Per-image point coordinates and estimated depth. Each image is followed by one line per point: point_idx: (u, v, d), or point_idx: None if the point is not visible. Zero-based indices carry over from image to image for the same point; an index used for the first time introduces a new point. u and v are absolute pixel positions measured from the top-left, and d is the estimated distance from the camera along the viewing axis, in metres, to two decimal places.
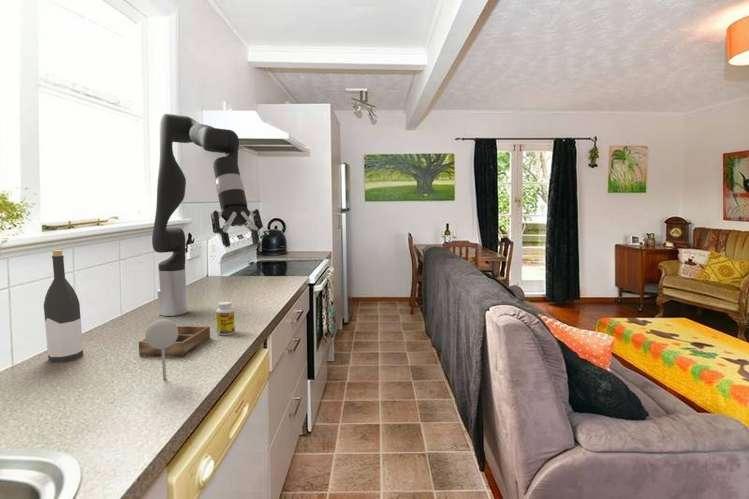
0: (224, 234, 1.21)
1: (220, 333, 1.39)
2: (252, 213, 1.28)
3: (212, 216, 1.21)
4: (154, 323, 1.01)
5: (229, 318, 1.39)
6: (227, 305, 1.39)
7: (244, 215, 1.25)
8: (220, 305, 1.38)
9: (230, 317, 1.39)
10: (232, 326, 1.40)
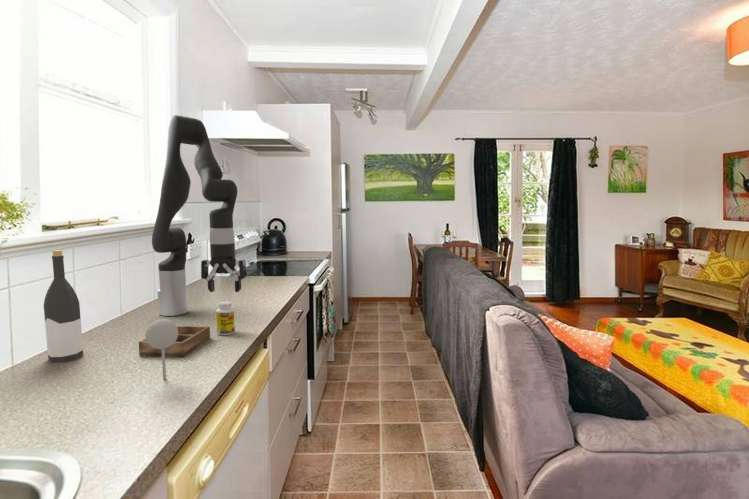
0: (208, 281, 1.39)
1: (220, 333, 1.39)
2: (237, 263, 1.38)
3: None
4: (154, 323, 1.01)
5: (229, 318, 1.39)
6: (227, 305, 1.39)
7: (225, 267, 1.37)
8: (220, 305, 1.38)
9: (230, 317, 1.39)
10: (232, 326, 1.40)
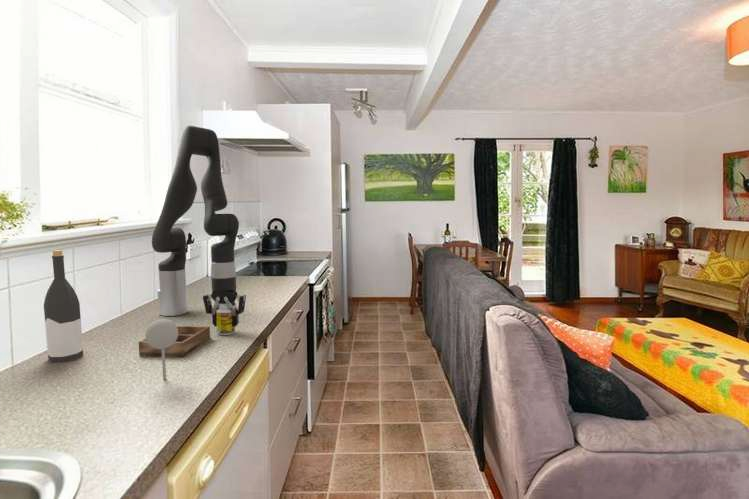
0: (213, 316, 1.40)
1: (220, 333, 1.39)
2: (238, 298, 1.39)
3: None
4: (154, 323, 1.01)
5: (229, 318, 1.39)
6: None
7: (226, 300, 1.38)
8: (220, 305, 1.38)
9: (231, 317, 1.39)
10: (232, 326, 1.40)
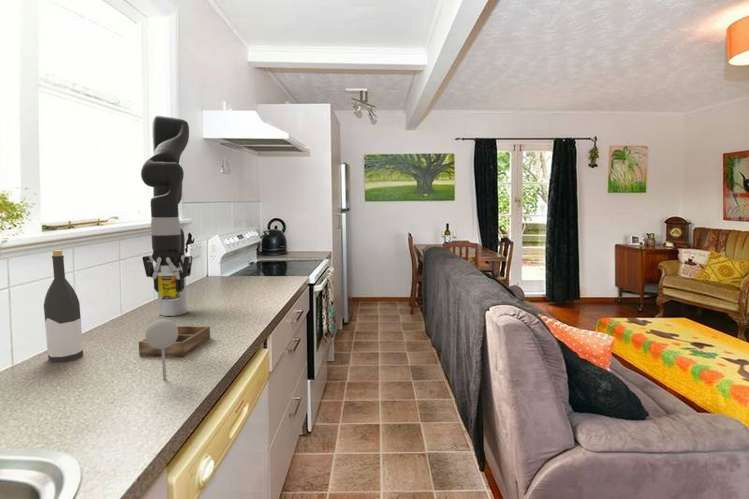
0: (155, 280, 1.23)
1: (162, 299, 1.21)
2: (183, 259, 1.22)
3: None
4: (154, 323, 1.01)
5: (172, 281, 1.21)
6: None
7: (168, 261, 1.21)
8: (162, 267, 1.21)
9: (174, 281, 1.22)
10: (176, 291, 1.23)
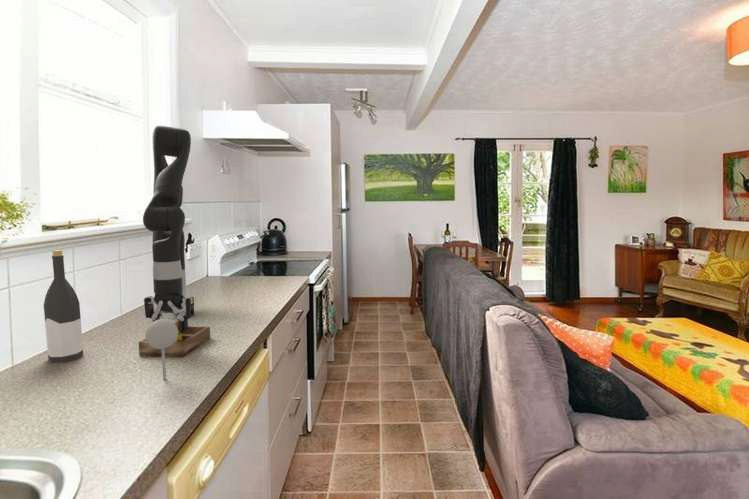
0: None
1: None
2: (184, 301, 1.23)
3: None
4: (154, 323, 1.01)
5: None
6: (172, 314, 1.23)
7: (170, 305, 1.22)
8: (164, 314, 1.23)
9: None
10: (178, 338, 1.24)
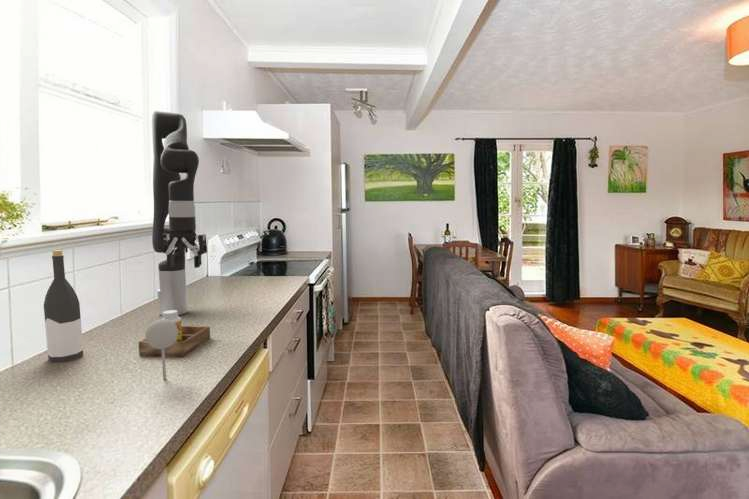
0: (167, 256, 1.34)
1: None
2: (197, 238, 1.33)
3: None
4: (154, 323, 1.01)
5: None
6: (172, 314, 1.23)
7: (184, 241, 1.32)
8: (164, 314, 1.23)
9: None
10: (178, 338, 1.24)
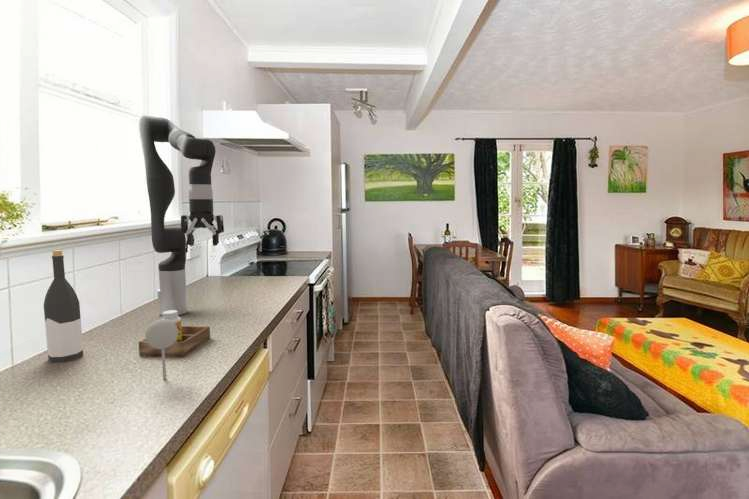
0: (188, 235, 1.47)
1: None
2: (215, 218, 1.46)
3: None
4: (154, 323, 1.01)
5: None
6: (172, 314, 1.23)
7: (204, 221, 1.45)
8: (164, 314, 1.23)
9: None
10: (178, 338, 1.24)
